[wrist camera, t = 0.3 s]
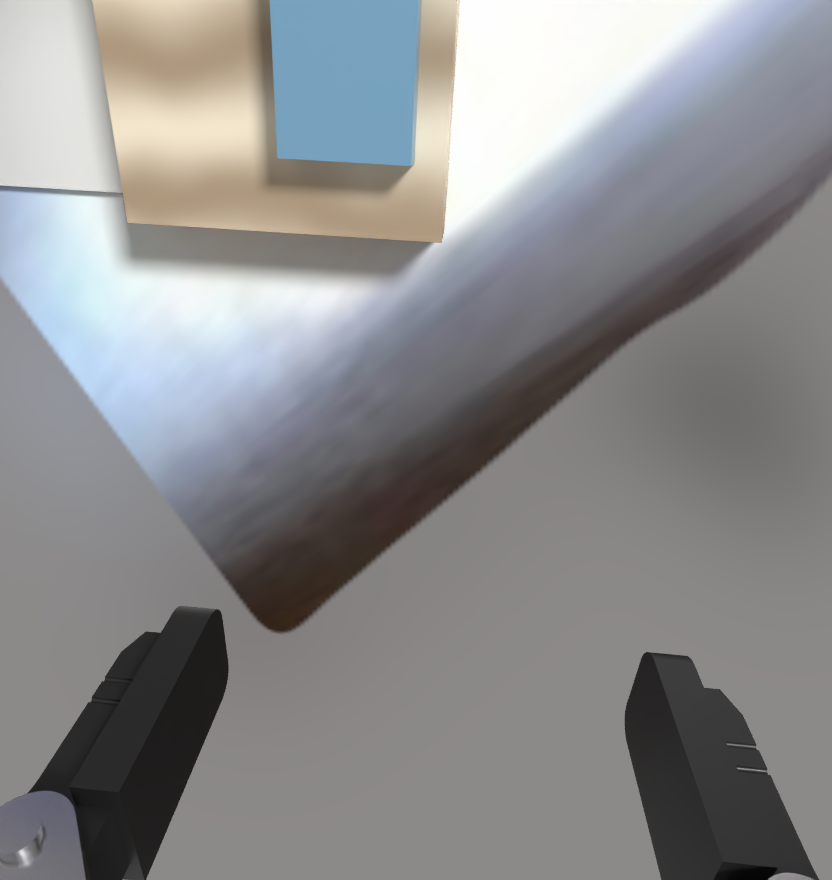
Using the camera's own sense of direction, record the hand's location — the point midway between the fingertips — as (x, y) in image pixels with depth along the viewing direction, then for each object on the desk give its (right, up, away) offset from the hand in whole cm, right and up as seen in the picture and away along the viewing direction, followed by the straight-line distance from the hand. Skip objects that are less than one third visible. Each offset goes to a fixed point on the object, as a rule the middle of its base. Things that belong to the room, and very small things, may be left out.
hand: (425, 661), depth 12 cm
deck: (-6, +24, +19) cm, 31 cm away
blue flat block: (-3, +22, +15) cm, 26 cm away
